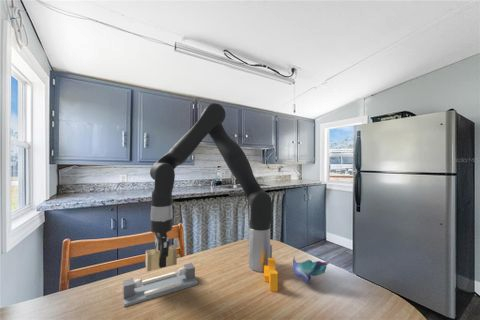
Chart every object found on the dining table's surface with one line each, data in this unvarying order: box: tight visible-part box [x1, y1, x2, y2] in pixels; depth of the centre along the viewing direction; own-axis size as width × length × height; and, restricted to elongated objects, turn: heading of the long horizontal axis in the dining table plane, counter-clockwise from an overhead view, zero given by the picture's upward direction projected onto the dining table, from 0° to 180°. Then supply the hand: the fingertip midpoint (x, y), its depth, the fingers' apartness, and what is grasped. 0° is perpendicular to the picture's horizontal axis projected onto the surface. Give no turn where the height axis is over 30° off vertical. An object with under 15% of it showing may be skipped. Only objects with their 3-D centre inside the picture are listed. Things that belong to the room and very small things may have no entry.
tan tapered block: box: [145, 244, 178, 272], centre depth 76 cm, size 10×5×6 cm, turn 121°
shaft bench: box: [122, 262, 199, 308], centre depth 76 cm, size 24×10×5 cm, turn 121°
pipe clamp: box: [263, 257, 279, 292], centre depth 80 cm, size 12×4×6 cm, turn 176°
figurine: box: [292, 255, 332, 284], centre depth 80 cm, size 13×12×9 cm
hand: (161, 263), depth 76 cm, fingers closed on tan tapered block, 4 cm apart
